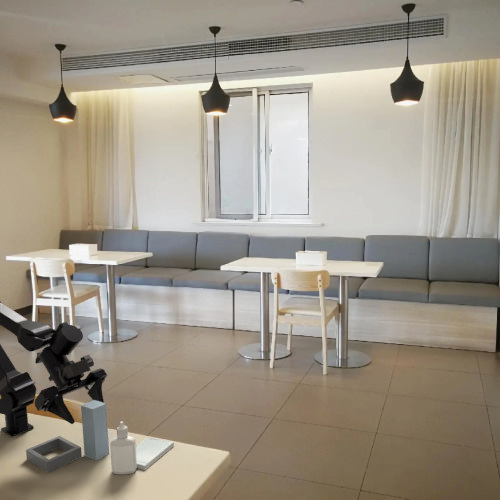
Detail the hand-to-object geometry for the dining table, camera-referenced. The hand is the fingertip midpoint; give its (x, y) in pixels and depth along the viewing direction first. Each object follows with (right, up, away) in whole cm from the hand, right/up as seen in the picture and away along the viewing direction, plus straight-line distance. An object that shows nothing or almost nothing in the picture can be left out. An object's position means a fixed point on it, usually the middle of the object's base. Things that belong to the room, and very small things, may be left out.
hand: (89, 416), depth 130 cm
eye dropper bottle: (+11, -10, -8) cm, 17 cm away
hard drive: (+15, -10, -1) cm, 18 cm away
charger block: (+2, -10, 0) cm, 10 cm away
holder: (-8, -10, -1) cm, 13 cm away
